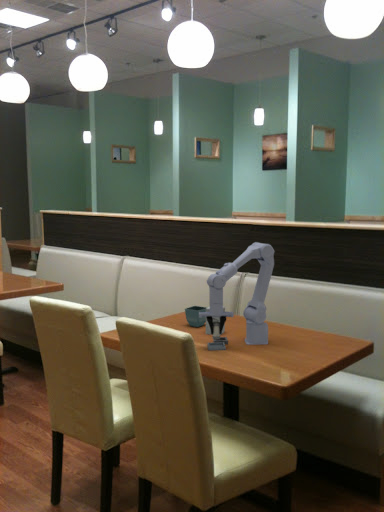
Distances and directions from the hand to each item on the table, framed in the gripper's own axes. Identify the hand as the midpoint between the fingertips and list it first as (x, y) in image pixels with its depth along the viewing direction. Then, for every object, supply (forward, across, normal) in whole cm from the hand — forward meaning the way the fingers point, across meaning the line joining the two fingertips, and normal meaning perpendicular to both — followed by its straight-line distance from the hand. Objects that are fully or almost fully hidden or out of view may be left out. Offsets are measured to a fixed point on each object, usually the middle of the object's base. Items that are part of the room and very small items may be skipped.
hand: (216, 333), depth 226 cm
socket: (+6, -2, -8) cm, 10 cm away
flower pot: (+7, +6, -38) cm, 40 cm away
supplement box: (+7, -2, -24) cm, 24 cm away
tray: (+6, 0, 0) cm, 6 cm away
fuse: (+2, 0, 0) cm, 2 cm away
